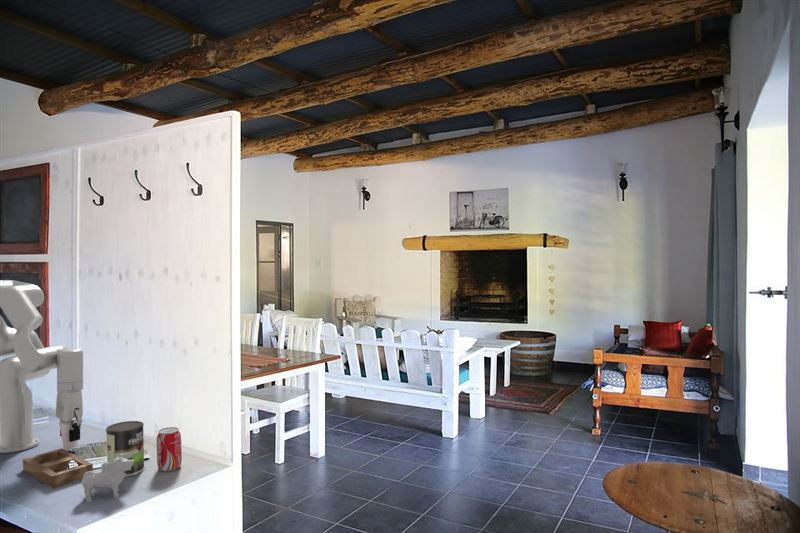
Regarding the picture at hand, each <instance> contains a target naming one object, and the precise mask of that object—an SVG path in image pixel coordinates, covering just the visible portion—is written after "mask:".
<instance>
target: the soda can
mask: <svg viewBox="0 0 800 533" xmlns="http://www.w3.org/2000/svg"><path fill="white" fill-rule="evenodd" d="M179 429H180V428H178V427H175V426H174V427H173V426H169V427H165V428H164V427H163V428H161V429H159V430H158V434H157V436H156V463H157V464H156V466H157V469H158V470H160V471H162V472H172V471H176V470H177V469H178V468H179V467H181V466H182V434H181V432H180V431H179Z"/></svg>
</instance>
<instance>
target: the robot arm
mask: <svg viewBox="0 0 800 533" xmlns="http://www.w3.org/2000/svg"><path fill="white" fill-rule="evenodd" d="M44 301H45V294H44V292H43V290H42V289H41V287H39V286H38V285H35V284H33V283H28V282H23V281H18V280H11V279H4V280H3V279H1V280H0V309H1V310H2V312H3V314H4V315H5V316H6V318H7V319H8V321H9V322H10V324H11V325H12V326H13V327H10V326H8V325H7V323H6V321H5V320H4V318H3V317H2V315H1V314H0V358H3V357H6V358H3V359H1V360H0V454H9V453H17V452H18V453H19V452H22V451H26V450H29V449H32V448H34V447H36V446H38V445H39V444H40V439H39V438H38V437H35V436H34V408H33V407H34V406H33V405H34V404H33V393H32V390H31V389H30V387H29V386H28V385H27V382H30V381H33V380H36V379H40V378H43V377H45V376H47V375H48V374H49V373H50V372H51V370H54V369H56V392H57V393H56V400H55V402H56V403H55V417H56V418H58V419H59V423H60V422H61V421H65V422H69V423H70V429H71V430H69V441H70V442H72V441H76V440H78V441H79V440H80V439H81V427H82V422H83V416H84V413H83V412H84V411H83V410H84V408H83V406H84V405H83V393H82V391H83V389H84V351H83V349H81V348H78V347H68V346H66V345H63V344H61V345H59V344H56V345H52V346H46V347H44V345H43V343H42V340H41V339H40V337H39V335H38V334H37V333H36V332H35V330H37V329H38V328H39V327H40V326H41V325H42V323H43V321H44V317H43V316H42V315H41V313H40V312H39V310H38V309H37V307H40V306H41V305H42V304H43V303H44ZM72 419H75V420H72ZM75 421H76V423H74V425H73V422H75ZM59 429H60V428H59ZM59 436H60V437H61V438H62V436H61V429H60V430H59Z"/></svg>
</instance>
